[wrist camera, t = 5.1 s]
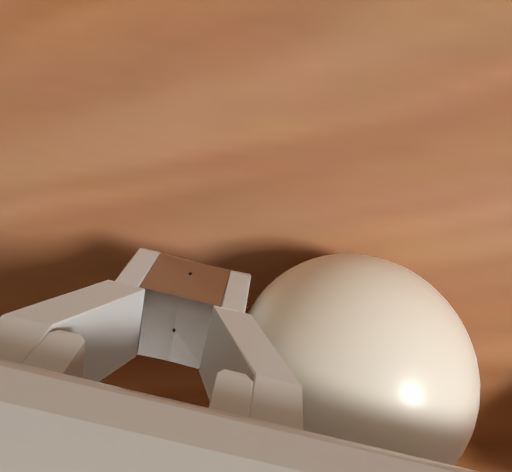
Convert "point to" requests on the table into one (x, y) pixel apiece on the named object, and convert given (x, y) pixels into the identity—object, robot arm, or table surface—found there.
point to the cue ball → (374, 355)
